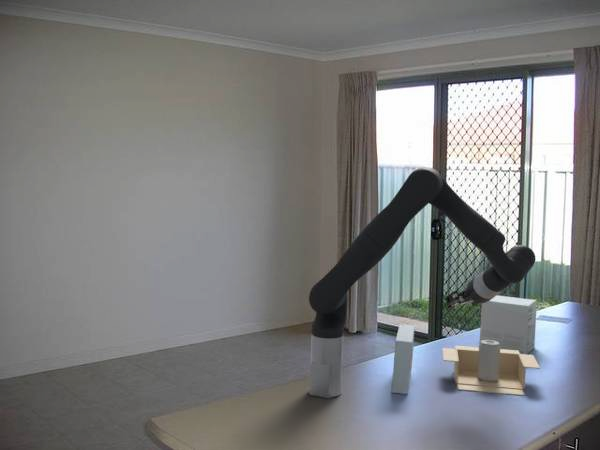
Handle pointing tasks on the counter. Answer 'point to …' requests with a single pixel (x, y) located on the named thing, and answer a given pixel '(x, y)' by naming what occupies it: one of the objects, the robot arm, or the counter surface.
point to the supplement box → (509, 323)
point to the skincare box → (403, 359)
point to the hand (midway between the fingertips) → (460, 304)
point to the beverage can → (488, 360)
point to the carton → (509, 370)
